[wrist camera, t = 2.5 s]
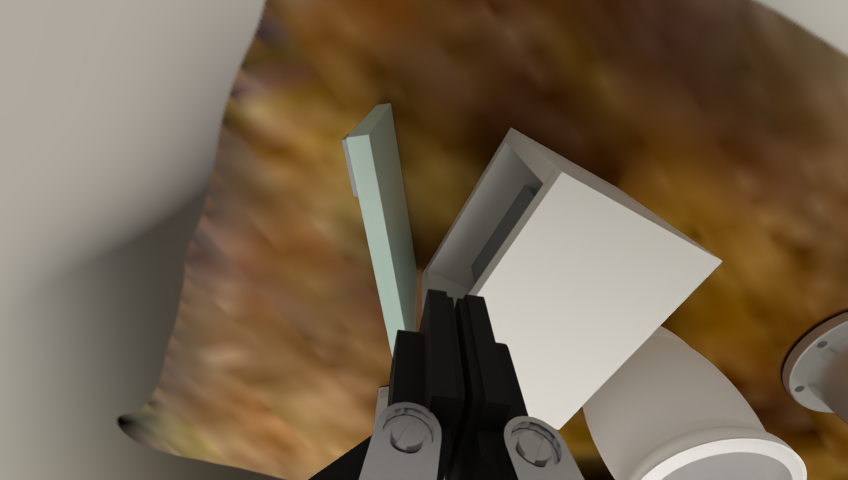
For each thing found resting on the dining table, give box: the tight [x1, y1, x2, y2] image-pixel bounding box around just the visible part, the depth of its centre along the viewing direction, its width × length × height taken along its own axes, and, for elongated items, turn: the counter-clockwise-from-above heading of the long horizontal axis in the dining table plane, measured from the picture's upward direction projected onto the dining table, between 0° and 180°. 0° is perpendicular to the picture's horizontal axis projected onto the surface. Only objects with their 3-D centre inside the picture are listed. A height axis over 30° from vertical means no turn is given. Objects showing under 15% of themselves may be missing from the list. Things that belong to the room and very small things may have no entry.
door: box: [342, 103, 417, 358], centre depth 25 cm, size 2×14×12 cm, turn 7°
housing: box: [422, 128, 722, 430], centre depth 27 cm, size 10×14×12 cm
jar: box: [582, 326, 807, 480], centre depth 30 cm, size 11×10×15 cm
